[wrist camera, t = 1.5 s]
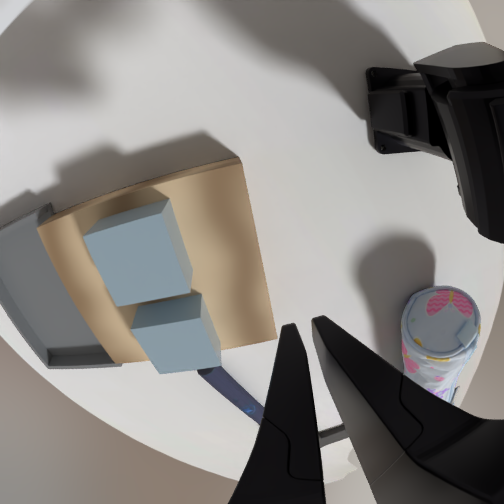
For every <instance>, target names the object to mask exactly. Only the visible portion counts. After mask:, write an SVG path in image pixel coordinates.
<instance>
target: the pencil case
mask: <svg viewBox="0 0 504 504" xmlns="http://www.w3.org/2000/svg"><path fill="white" fill-rule="evenodd" d="M480 328H481V317H480V312H479V309H478V307H477V305H476V303H475V302H474V300H473V299H472V298H471V297H470V296H469V295H468V294H467V293H466V292H464V291H463V290H460V289H458V288H455V287H451V286H436V287H431V288H428V289H425V290H422V291H419V292H416V293H415V294H413V295H412V296H411V298H410V299H409V301H408V303H407V305H406V307H405V309H404V312H403V315H402V319H401V333H402V356H403V362H404V375H406V376H407V377H409V378H410V379H411V380H413V381H414V382H416V383H417V384H419V385H420V386H421V387H423V388H424V389H426V390H428V391H429V392H431V393H433V394H434V395H436V396H438V397H439V398H441V399H443V400H445V401H447V402H449V403H450V404H452V405H454V401H455V398H456V396H457V393H458V391H459V388H460V386H458V387H457V388H455V386H456V383H457V379H458V376H459V374H460V372H461V371H462V369H463V367H464V365H465V364H466V363H467V362H468V360H469V359H470V357H471V355H472V354H473V352H474V351H475V349H476V348H477V341H478V338H479V336H480Z"/></svg>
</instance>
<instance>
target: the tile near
mask: <svg viewBox="0 0 504 504" xmlns="http://www.w3.org/2000/svg"><path fill="white" fill-rule="evenodd" d="M83 239H84V241H85V243H86V246H87V248H88V250H89V252H90V255H91V257H92V259H93V261H94V263H95V265H96V267H97V269H98V271H99V273H100V275H101V277H102V279H103V281H104V283H105V285H106V287H107V289H108V291H109V293H110V295H111V297H112V298H113V300H114V302H115V304H116V306H117V307H119V306H124V305H130V304H135V303H140V302H146V301H151V300H156V299H161V298H166V297H171V296H176V295H181V294H186V293H190V291H191V283H192V275H193V268H192V265H191V262H190V259H189V256H188V254H187V251H186V248H185V245H184V242H183V239H182V236H181V233H180V229H179V226H178V223H177V220H176V217H175V214H174V211H173V207H172V204H171V201H170V198H169V199H165V200H162V201H158V202H155V203H151V204H148V205H144V206H141V207H138V208H134V209H131V210H128V211H124V212H121V213H118V214H115V215H112V216H109V217H106V218H102V219H99V220H98V221H97V222H96V223H95V224H94V225H93V226H92V227H91V228H90V229H89V230H88V231H87V232H86V233H85V235H84V236H83Z"/></svg>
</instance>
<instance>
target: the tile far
mask: <svg viewBox="0 0 504 504" xmlns="http://www.w3.org/2000/svg"><path fill="white" fill-rule="evenodd" d="M130 330H131V331H132V333H133V335H134V336H135V338H136V339H137V341H138V343H139V344H140V346H141V347H142V349H143V350H144V352H145V353H146V355H147V356H148V358H149V359H150V361H151V362H152V364H153V365H154V367H155V368H156V370H157V371H158V372H159V374H166V373H175V372H183V371H191V370H198V369H205V368H211V367H217V366H221V343H220V340H219V337H218V335H217V332H216V330H215V327H214V324H213V322H212V319H211V317H210V314H209V312H208V309H207V306H206V304H205V301H204V298H203V296H202V294H199V295H194V296H189V297H184V298H179V299H174V300H169V301H163V302H158V303H153V304H148V305H142V306H138V308H137V311H136V314H135V317H134V320H133V323H132V326H131V329H130Z"/></svg>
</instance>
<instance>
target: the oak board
mask: <svg viewBox="0 0 504 504" xmlns="http://www.w3.org/2000/svg"><path fill="white" fill-rule="evenodd" d="M169 198H170V201H171V204H172V207H173V211H174V214H175V217H176V220H177V223H178V226H179V229H180V233H181V236H182V239H183V242H184V245H185V248H186V251H187V254H188V256H189V259H190V262H191V265H192V268H193V275H192V283H191V291H190V293H186V294H181V295H176V296H171V297H166V298H161V299H156V300H151V301H146V302H140V303H135V304H130V305H124V306H119V307H117V306H116V304H115V302H114V300H113V298H112V297H111V295H110V293H109V291H108V289H107V287H106V285H105V283H104V281H103V279H102V277H101V275H100V273H99V271H98V269H97V267H96V265H95V263H94V261H93V259H92V257H91V255H90V252H89V250H88V248H87V246H86V243H85V241H84V239H83V236H84V235H85V233H86V232H87V231H88V230H89V229H90V228H91V227H92V226H93V225H94V224H95V223H96V222H97V221H98V220H99V219H102V218H106V217H109V216H112V215H115V214H118V213H121V212H124V211H128V210H131V209H134V208H138V207H141V206H144V205H148V204H151V203H155V202H158V201H162V200H165V199H169ZM37 231H38V233H39V235H40V238H41V240H42V242H43V244H44V247H45V249H46V251H47V253H48V255H49V257H50V259H51V261H52V263H53V265H54V267H55V269H56V271H57V273H58V275H59V277H60V279H61V281H62V282H63V284H64V286H65V288H66V290H67V291H68V293H69V295H70V297H71V298H72V300H73V302H74V303H75V305H76V307H77V308H78V310H79V312H80V313H81V315H82V316H83V318H84V320H85V321H86V323H87V324H88V326H89V327H90V329H91V330H92V332H93V333H94V335H95V336H96V338H97V339H98V341H99V342H100V343H101V345H102V346H103V348H104V349H105V350H106V352H107V353H108V354H109V356H110V357H111V358H112V360H113V361H114V362H115V364H119V363H131V362H141V361H150V359H149V358H148V356H147V355H146V353H145V352H144V350H143V349H142V347H141V346H140V344H139V343H138V341H137V339H136V338H135V336H134V335H133V333H132V331H131V330H130V329H131V326H132V323H133V320H134V317H135V314H136V311H137V308H138V306H142V305H148V304H153V303H158V302H163V301H169V300H174V299H179V298H184V297H189V296H194V295H199V294H202V296H203V298H204V301H205V304H206V306H207V309H208V312H209V314H210V317H211V319H212V322H213V324H214V327H215V330H216V332H217V335H218V337H219V340H220V343H221V350H225V349H231V348H236V347H241V346H246V345H251V344H256V343H261V342H265V341H270V340H274V339H277V333H276V328H275V323H274V318H273V313H272V308H271V303H270V298H269V293H268V288H267V283H266V278H265V273H264V268H263V263H262V258H261V253H260V248H259V243H258V238H257V234H256V229H255V224H254V219H253V214H252V209H251V204H250V200H249V195H248V190H247V185H246V180H245V176H244V171H243V166H242V162H241V160H240V158H239V157H236V158H232V159H227V160H223V161H218V162H214V163H210V164H206V165H202V166H198V167H194V168H190V169H186V170H183V171H179V172H175V173H172V174H168V175H165V176H161V177H158V178H154V179H151V180H148V181H145V182H141V183H138V184H135V185H132V186H129V187H126V188H123V189H120V190H117V191H114V192H111V193H108V194H106V195H103V196H100V197H97V198H94V199H92V200H89V201H86V202H84V203H81V204H79V205H76V206H74V207H71V208H69V209H66V210H64V211H61V212H59V213H56V214H54V215H53V216H51V217H50V218H48V219H47V220H46V221H45V222H43V223H42V224H41V225H40V226H38V227H37Z"/></svg>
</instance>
